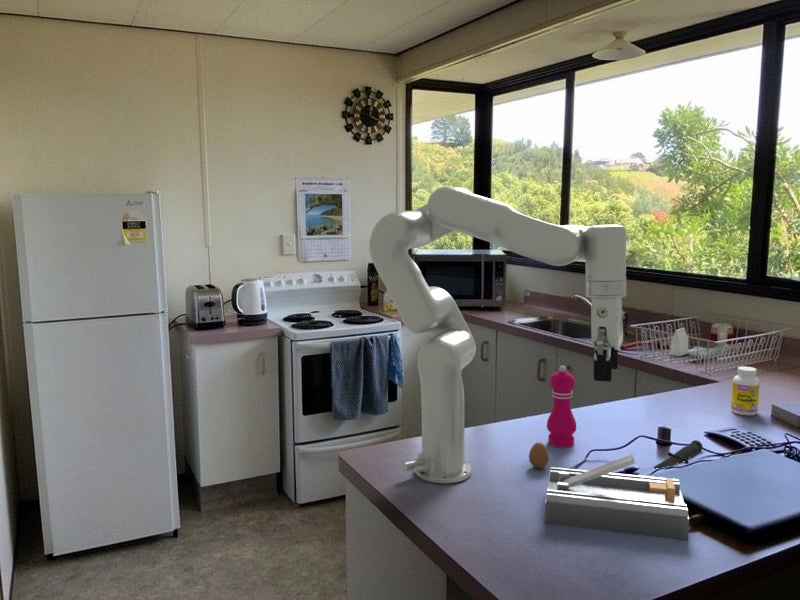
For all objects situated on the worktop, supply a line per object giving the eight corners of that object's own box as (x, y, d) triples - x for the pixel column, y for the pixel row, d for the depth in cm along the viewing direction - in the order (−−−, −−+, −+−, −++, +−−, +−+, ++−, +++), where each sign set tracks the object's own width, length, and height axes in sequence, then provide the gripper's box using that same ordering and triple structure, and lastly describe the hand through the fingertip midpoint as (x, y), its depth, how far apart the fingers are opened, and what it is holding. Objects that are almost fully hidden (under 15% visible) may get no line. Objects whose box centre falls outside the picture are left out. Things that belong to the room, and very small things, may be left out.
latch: (650, 501, 120) (650, 486, 119) (648, 491, 124) (648, 476, 123) (674, 504, 118) (675, 488, 118) (671, 493, 123) (672, 478, 122)
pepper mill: (577, 449, 157) (579, 369, 154) (546, 447, 158) (548, 368, 155) (575, 438, 164) (576, 362, 161) (546, 436, 165) (547, 361, 162)
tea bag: (687, 353, 251) (689, 328, 250) (679, 356, 247) (680, 331, 246) (678, 352, 254) (679, 327, 253) (670, 354, 250) (671, 329, 248)
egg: (538, 473, 143) (538, 448, 142) (524, 467, 147) (524, 442, 146) (552, 469, 145) (553, 443, 144) (538, 462, 149) (539, 437, 148)
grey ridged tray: (544, 522, 121) (545, 491, 120) (549, 490, 134) (549, 462, 133) (688, 540, 114) (689, 507, 113) (678, 504, 127) (679, 475, 126)
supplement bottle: (732, 414, 180) (734, 370, 178) (729, 407, 186) (732, 364, 184) (759, 417, 177) (762, 372, 175) (755, 410, 183) (758, 366, 181)
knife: (690, 444, 157) (696, 437, 156) (705, 459, 154) (712, 451, 153) (630, 469, 143) (636, 461, 142) (645, 486, 140) (652, 478, 139)
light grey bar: (561, 492, 125) (558, 487, 125) (562, 485, 128) (559, 480, 128) (635, 464, 120) (632, 459, 120) (634, 458, 123) (631, 453, 123)
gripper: (620, 295, 115) (621, 387, 117) (630, 283, 130) (630, 365, 133) (578, 294, 118) (579, 384, 120) (592, 283, 134) (593, 363, 136)
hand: (606, 374), depth 127 cm, fingers open, 9 cm apart
